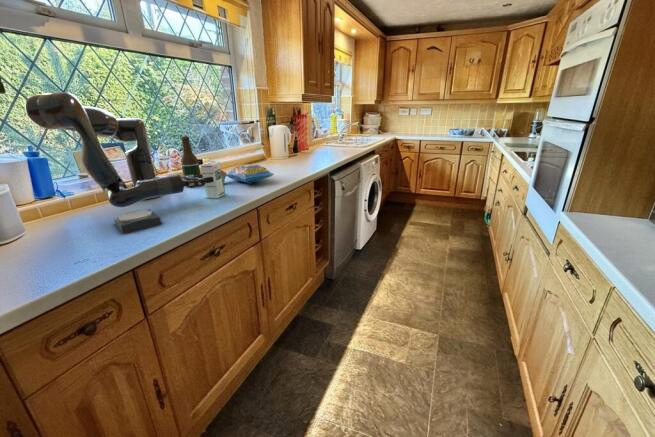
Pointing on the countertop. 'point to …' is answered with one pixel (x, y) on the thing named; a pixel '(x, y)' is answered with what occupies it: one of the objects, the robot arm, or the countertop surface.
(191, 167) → the beer bottle
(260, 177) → the packet
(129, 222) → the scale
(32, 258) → the countertop surface
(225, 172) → the cupcake
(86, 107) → the robot arm
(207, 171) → the syrup box
